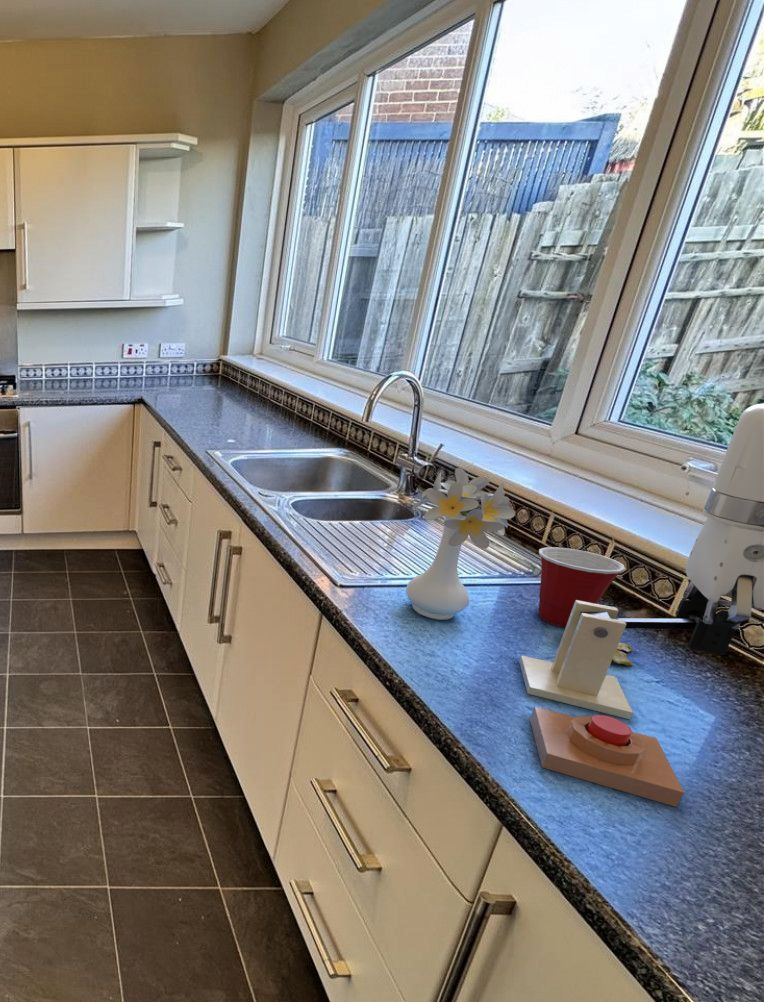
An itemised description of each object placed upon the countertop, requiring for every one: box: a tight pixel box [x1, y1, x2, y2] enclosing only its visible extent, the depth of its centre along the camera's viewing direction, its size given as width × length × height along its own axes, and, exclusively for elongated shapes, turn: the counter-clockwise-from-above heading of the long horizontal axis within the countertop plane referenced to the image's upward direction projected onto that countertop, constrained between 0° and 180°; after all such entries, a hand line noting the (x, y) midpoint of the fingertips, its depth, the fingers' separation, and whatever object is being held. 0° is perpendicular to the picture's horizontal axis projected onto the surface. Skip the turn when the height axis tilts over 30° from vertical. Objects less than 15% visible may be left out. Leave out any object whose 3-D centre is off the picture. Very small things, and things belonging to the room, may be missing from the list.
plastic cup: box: [538, 546, 626, 629], centre depth 104 cm, size 11×11×12 cm
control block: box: [529, 706, 685, 808], centre depth 75 cm, size 12×10×4 cm
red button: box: [587, 714, 633, 746], centre depth 75 cm, size 4×4×2 cm
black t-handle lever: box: [580, 611, 704, 630], centre depth 82 cm, size 12×5×2 cm, turn 59°
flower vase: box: [405, 467, 516, 621], centre depth 104 cm, size 13×18×25 cm
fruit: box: [612, 641, 634, 666], centre depth 97 cm, size 8×8×4 cm
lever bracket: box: [518, 600, 634, 720], centre depth 86 cm, size 11×9×13 cm
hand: (697, 638), depth 80 cm, fingers closed on black t-handle lever, 5 cm apart
